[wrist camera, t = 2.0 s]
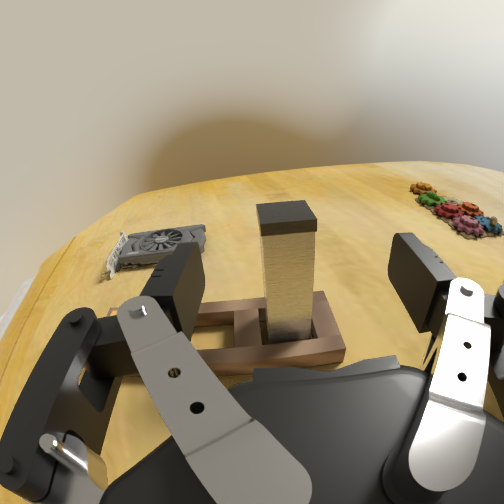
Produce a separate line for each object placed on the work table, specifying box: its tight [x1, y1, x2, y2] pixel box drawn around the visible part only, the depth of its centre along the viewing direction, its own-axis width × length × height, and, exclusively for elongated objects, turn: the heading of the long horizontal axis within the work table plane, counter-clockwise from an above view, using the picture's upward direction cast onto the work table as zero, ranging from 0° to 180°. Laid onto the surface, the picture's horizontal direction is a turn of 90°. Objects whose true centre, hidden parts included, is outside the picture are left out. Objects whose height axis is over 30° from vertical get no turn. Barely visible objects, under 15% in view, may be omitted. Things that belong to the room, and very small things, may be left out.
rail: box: [106, 291, 346, 377], centre depth 29 cm, size 26×9×2 cm, turn 93°
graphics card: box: [106, 224, 206, 279], centre depth 47 cm, size 17×4×12 cm
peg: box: [256, 200, 317, 344], centre depth 26 cm, size 4×4×14 cm
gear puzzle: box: [410, 182, 504, 239], centre depth 55 cm, size 31×16×4 cm, turn 3°
